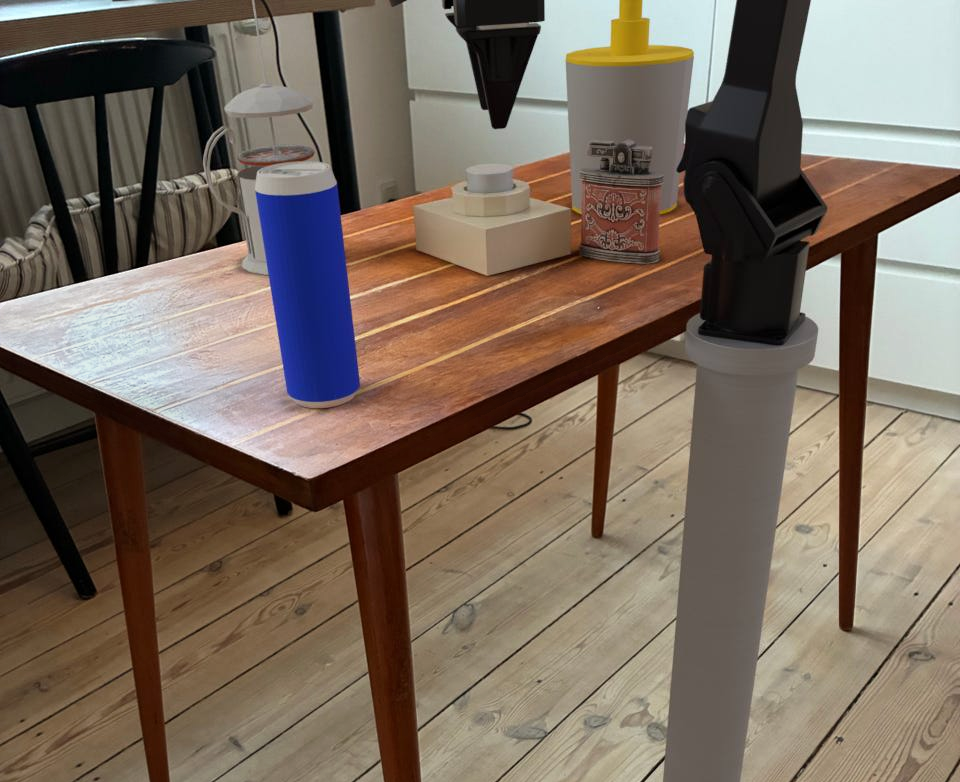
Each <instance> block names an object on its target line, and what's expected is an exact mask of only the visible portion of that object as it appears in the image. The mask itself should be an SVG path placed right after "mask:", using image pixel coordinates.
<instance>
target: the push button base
mask: <svg viewBox="0 0 960 782" xmlns="http://www.w3.org/2000/svg"><path fill="white" fill-rule="evenodd" d="M450 196H451V197H447V198H443V199H439V200H434V201H428V202H425V203H420V204H415V205H413V206H412V209H413V210H412V211H413V223H414V235H415V249H416V251H418V252H421V253H424V254H426V255H428V256H429V255H430V256H432V257H434V258H437V259H440V260H443V261H445V262H448V263H451V264H453V265H456V266H459V267H462V268H463V269H464V268H465V269H467V270H470V271H472V272H476V273H478V274H481V275H483V276H486V277H490V276H493V275H497V274H501V273H505V272H508V271H512V270H516V269H520V268H525V267H528V266H531V265H535V264H539V263H543V262H546V261H547V262H548V261H550V260H554V259H558V258H563V257H566V256H570V255H571V254H572V207H571V208H570V207H567V206H563V205H560V204H555V203H551V202H549V201H545V200H540V199H537V198H533V197H531V186H530V185H529V183H528V182H527V181H524V180H519V179H515V178H513V190H510V191H505V192H501V193H487V194H486V193H472V192H469V191H467V181H466V180H465V181H461V182H458V183H456V184H454V185H452V186H451V187H450Z"/></svg>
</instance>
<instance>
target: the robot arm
mask: <svg viewBox="0 0 960 782" xmlns="http://www.w3.org/2000/svg"><path fill="white" fill-rule="evenodd" d="M407 1H408V0H388V2H389V4H390V6H391V8H395V7H396V6H399V5H400V4H403V3H405V2H407ZM545 1H546V0H441V2H442V8H443V9H444V10H452V8H453V12H446V13H444V16H445V18H446V19H447V20H448V21H449V22H450V23H451V25H452V26H453V27H455V32H456V33H457V34H458V36H459V37H460V38H461V39H463V40H464V42H465V44H466V48H467V52H468V56H469V57H468V58H469V61H470V67H471V70H472V74H473V80H474V83H475V88H476V93H477V96H478V101H479V106H480V108H481V110H482V111H488V115H489V122H490V125H491V128H492V129H493V130H503V129H506V128H507V126H508V123H509V120H510V117H511V115H512V111H513V108H514V105H515V102H516V101H517V96H518V94H519V90H520V87H521V85H522V82H523V79H524V76H525V73H526V70H527V67H528V65H529V62H530V59H531V56H532V53H533V51H534V48H535V45H536V42H537V39H538V36H539V35H540V34H541V31H542V26H541V24H539V23H542V22H545V21H546V16H545V15H546V13H545V12H546V11H545V10H546V8H545V3H546V2H545ZM811 2H812V0H735V6H734V13H733V18H732V19H733V20H732V26H731V30H730V31H731V32H730V39H729V44H728V50H727V57H726V64H725V69H724V75H723V78H722V81H721V84H720V86H719V88H718V90H717V92H716V93H715V95H714V98H713V99H712V100H711V101H708V102H705V103H701V104H699V105H695V106H692V107H690V108H688V112H687V117H686V122H685V137H684V147H683V154H682V159H681V161H680V163H679V165H678V167H677V172H678V173H680V174H681V173H683V172H684V175H683V187H682V188H683V189H682V191H683V195H684V200H685V202H686V203H687V204H688V205H689V207H690V208H691V210H692V212H693V213H694V215H695V218H696V223H697V228H698V232H699V236H700V241H701V244H702V245H701V246H702V249H703V252H704V254H705V255H711V259H710V260H709V261H707V263H706V264H705V265H703V270H702V271H703V272H702V273H703V274H702V285H701V299H700V311H699V313H700V318H701V319H702V320H706V321H705V322H704V323H703V324H701V325H700V326H699V327H698V334H699V335H703V336H710V337H717V338H725V339H732V340H739V341H746V342H754V343H761V344H768V345H776V346H780V345H784V344H785V343H786V342H787V340H788V339H789V338H790V337H791V336H792V335H793V333H794V332H795V331H796V330H797V329H798V328H799V326H800V325H801V324H802V323H803V322H804V320H805V316H806V313H805V312H801V308H802V301H803V300H802V299H803V293H804V286H805V278H806V273H807V272H806V271H807V264H808V259H809V257H808V256H809V249H810V241H804V239H806V238H808V237H812V236H814V235H816V234H817V232H818V231H819V229H820V227H821V225H822V223H823V220H824V218H825V217H826V215H827V212H828V210H829V209H828V205H827V204H826V203H825V201H824V200H823V198H822V197H821V195H820V193H818V191H817V190H816V188H815V186H814V185H813V184H812V182H811V181H810V179H809V178H808V176H807V175H806V173H805V172H804V171H803V170H802V168H801V164H802V150H803V149H802V147H803V131H804V129H803V128H804V123H803V117H802V112H801V107H800V102H799V101H800V100H799V96H798V90H797V72H798V68H799V63H800V58H801V53H802V47H803V44H804V43H803V42H804V39H805V32H806V27H807V22H808V17H809V12H810V7H811Z"/></svg>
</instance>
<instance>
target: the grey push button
mask: <svg viewBox="0 0 960 782" xmlns="http://www.w3.org/2000/svg"><path fill="white" fill-rule="evenodd" d="M465 179H466V180H465V181H467V191H469V192H472V193H486V194H487V193H501V192H505V191H510V190H513V179H514V167H513V166H512V165H510V164H505V163H482V164H475V165H471V166H469V167H466V169H465Z"/></svg>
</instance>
